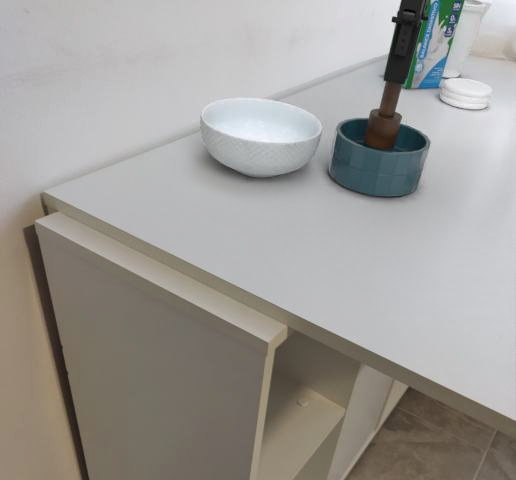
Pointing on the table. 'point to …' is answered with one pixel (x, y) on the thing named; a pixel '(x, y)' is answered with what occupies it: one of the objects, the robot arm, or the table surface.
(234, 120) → the cereal bowl
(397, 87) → the pestle
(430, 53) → the milk carton
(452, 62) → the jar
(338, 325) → the table surface
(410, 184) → the bowl
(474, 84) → the coaster
